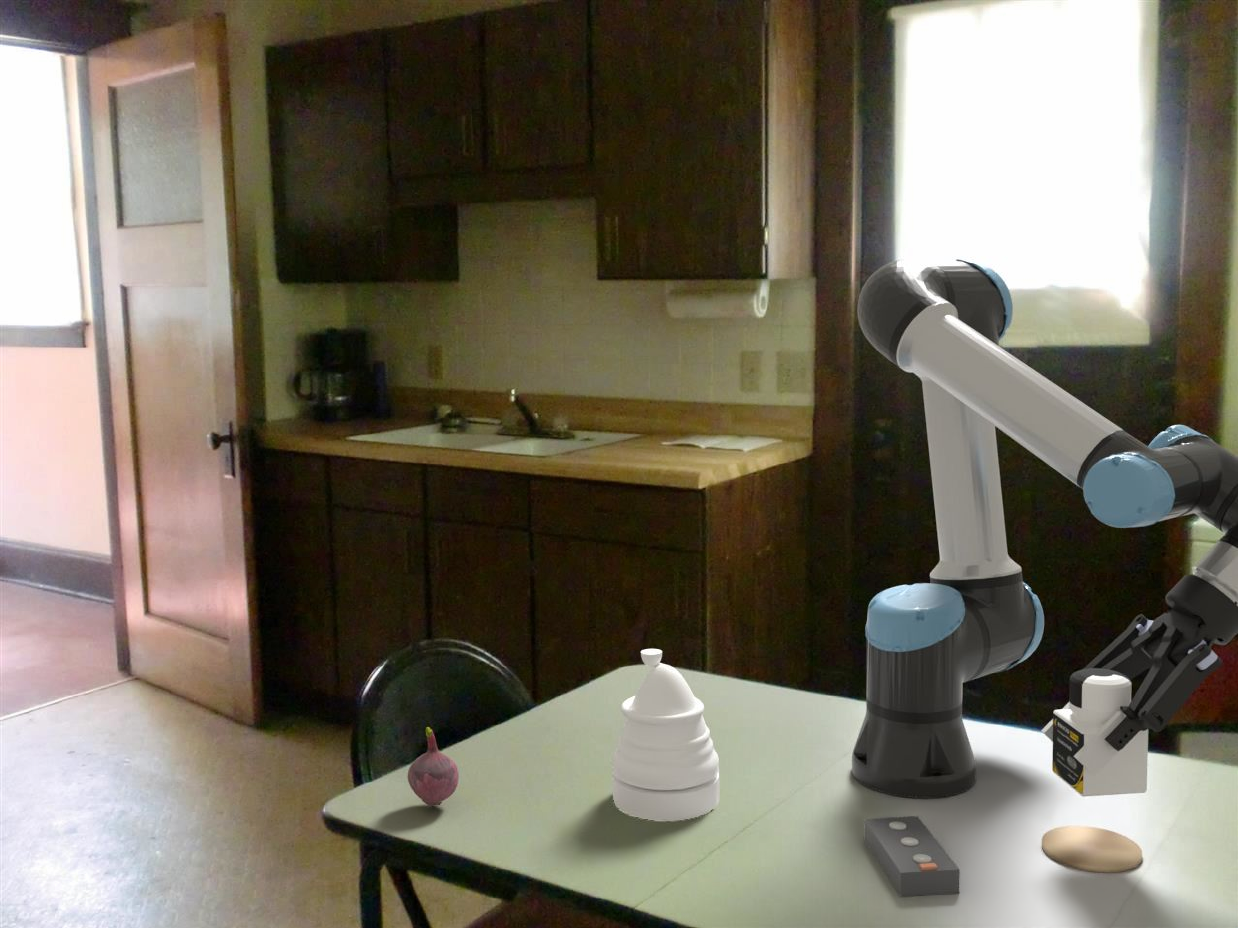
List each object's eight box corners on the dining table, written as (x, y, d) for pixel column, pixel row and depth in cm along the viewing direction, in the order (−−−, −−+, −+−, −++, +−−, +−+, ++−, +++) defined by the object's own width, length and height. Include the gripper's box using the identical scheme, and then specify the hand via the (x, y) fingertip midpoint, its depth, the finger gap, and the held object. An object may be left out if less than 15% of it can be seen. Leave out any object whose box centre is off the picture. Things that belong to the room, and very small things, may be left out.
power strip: (864, 840, 132) (864, 815, 132) (917, 837, 133) (917, 813, 133) (900, 896, 120) (900, 869, 119) (959, 892, 120) (959, 866, 120)
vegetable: (434, 793, 148) (431, 715, 147) (471, 804, 145) (468, 724, 143) (398, 810, 143) (394, 729, 142) (435, 821, 140) (432, 739, 138)
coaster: (1029, 856, 128) (1030, 851, 128) (1056, 823, 136) (1056, 818, 136) (1129, 880, 122) (1129, 875, 122) (1151, 844, 130) (1151, 839, 130)
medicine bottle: (1051, 772, 131) (1052, 665, 129) (1114, 768, 131) (1116, 661, 130) (1081, 797, 124) (1083, 684, 122) (1148, 793, 124) (1150, 681, 123)
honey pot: (590, 801, 145) (587, 656, 142) (660, 771, 154) (658, 634, 152) (672, 831, 136) (669, 677, 134) (741, 796, 145) (739, 652, 143)
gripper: (1303, 643, 117) (1138, 813, 117) (1190, 597, 136) (1049, 742, 137) (1253, 592, 116) (1087, 763, 116) (1146, 553, 135) (1005, 700, 136)
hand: (1067, 752), depth 127 cm, fingers closed on medicine bottle, 7 cm apart
